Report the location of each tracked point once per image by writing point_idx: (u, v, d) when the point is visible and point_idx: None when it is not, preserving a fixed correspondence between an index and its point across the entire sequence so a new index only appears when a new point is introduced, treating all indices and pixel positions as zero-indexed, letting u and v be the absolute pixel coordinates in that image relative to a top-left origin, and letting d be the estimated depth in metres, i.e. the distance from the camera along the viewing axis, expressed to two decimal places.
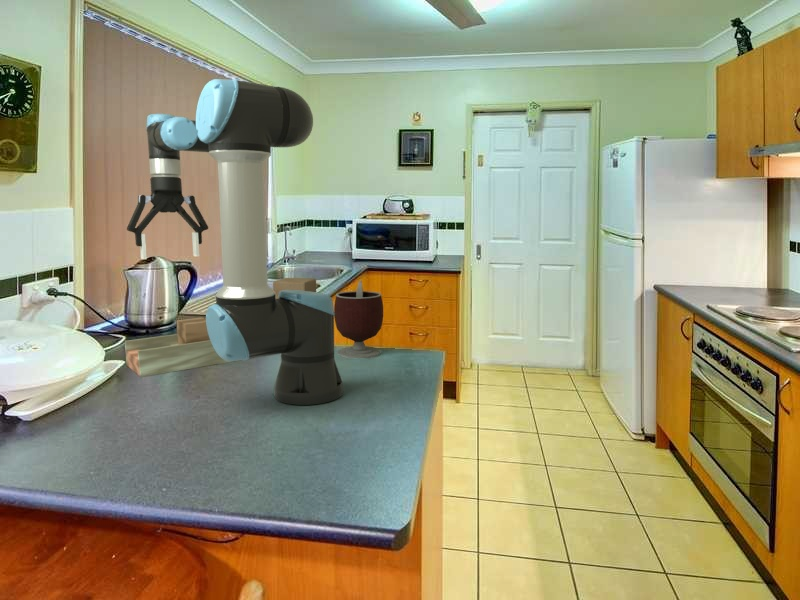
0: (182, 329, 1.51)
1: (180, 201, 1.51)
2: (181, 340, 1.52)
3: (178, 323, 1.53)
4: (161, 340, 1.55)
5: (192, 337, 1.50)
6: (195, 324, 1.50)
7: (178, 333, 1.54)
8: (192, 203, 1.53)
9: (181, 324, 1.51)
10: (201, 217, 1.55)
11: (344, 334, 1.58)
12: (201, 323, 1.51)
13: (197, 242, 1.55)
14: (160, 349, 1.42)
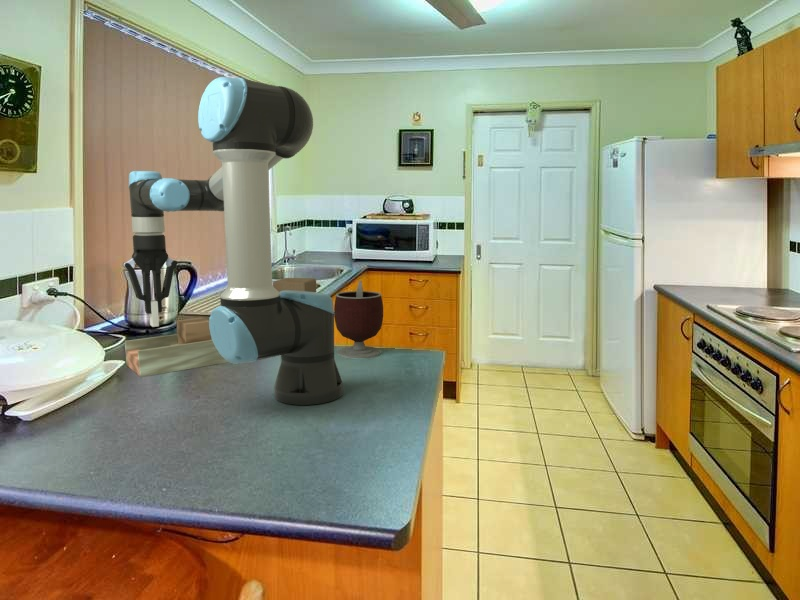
0: (182, 329, 1.51)
1: (162, 258, 1.45)
2: (181, 340, 1.52)
3: (178, 323, 1.53)
4: (161, 340, 1.55)
5: (192, 337, 1.50)
6: (195, 324, 1.50)
7: (178, 333, 1.54)
8: (171, 267, 1.47)
9: (181, 324, 1.51)
10: (169, 284, 1.47)
11: (344, 334, 1.58)
12: (201, 323, 1.51)
13: (156, 311, 1.46)
14: (160, 349, 1.42)
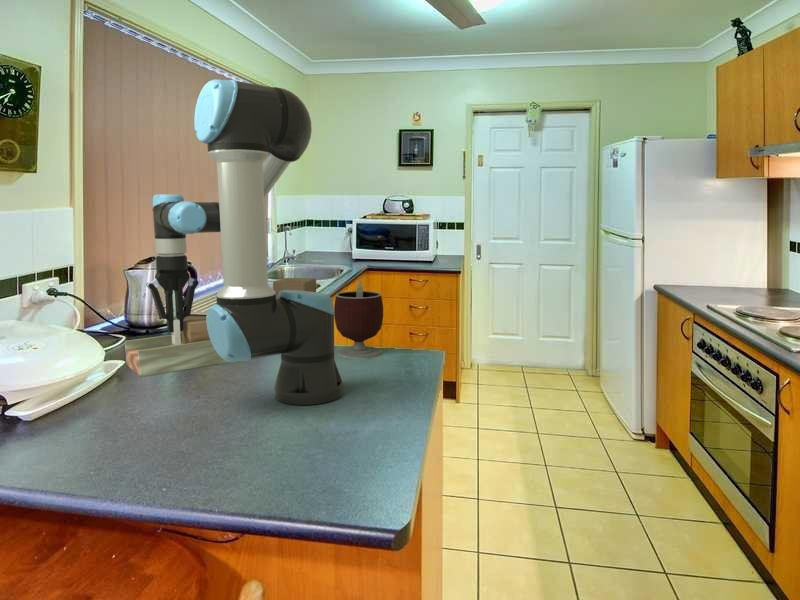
0: (187, 328, 1.51)
1: (184, 278, 1.49)
2: (186, 339, 1.53)
3: None
4: (161, 340, 1.55)
5: (196, 336, 1.51)
6: (200, 323, 1.51)
7: (182, 332, 1.54)
8: (192, 286, 1.51)
9: (186, 323, 1.52)
10: (190, 303, 1.51)
11: (344, 334, 1.58)
12: (205, 322, 1.52)
13: (178, 330, 1.50)
14: (160, 349, 1.42)
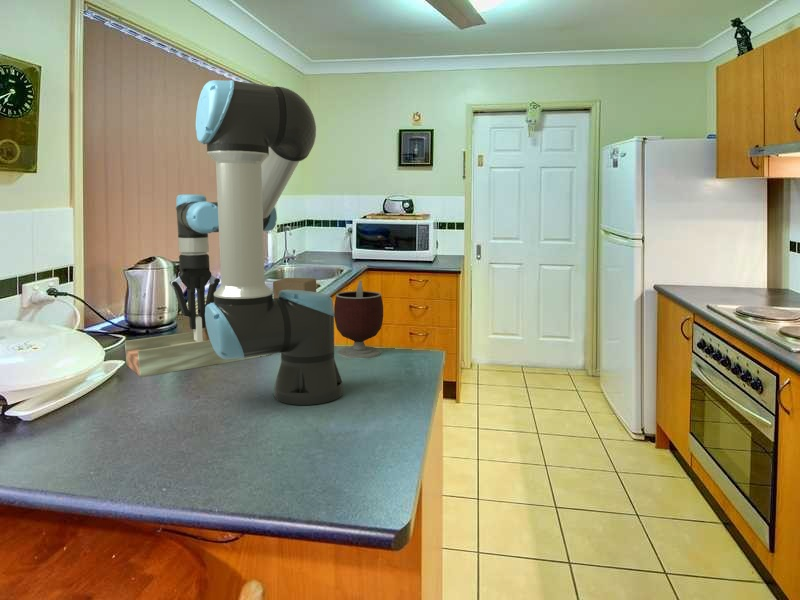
0: None
1: (206, 276, 1.53)
2: (207, 336, 1.57)
3: None
4: (161, 340, 1.55)
5: None
6: None
7: (204, 330, 1.58)
8: (214, 284, 1.54)
9: None
10: (212, 300, 1.55)
11: (344, 334, 1.58)
12: None
13: (200, 327, 1.53)
14: (160, 349, 1.42)
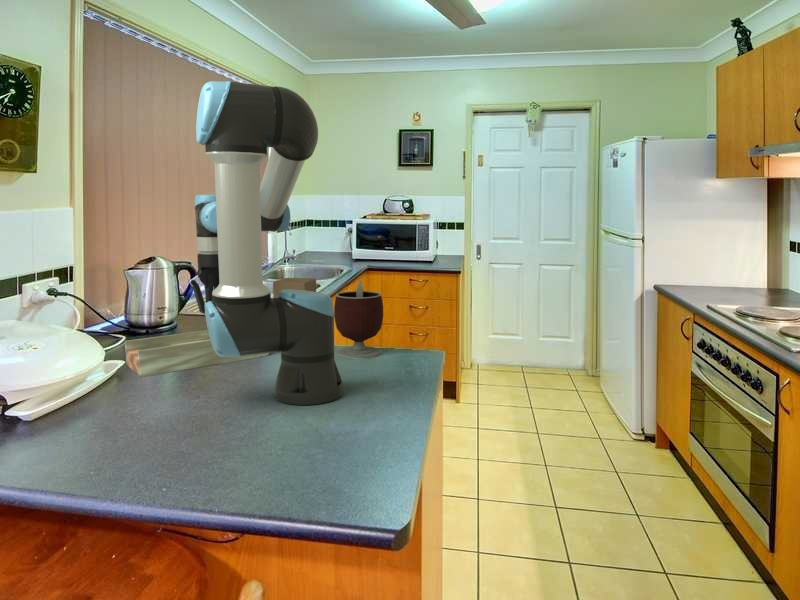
0: None
1: None
2: None
3: None
4: (161, 340, 1.55)
5: None
6: None
7: None
8: None
9: None
10: None
11: (344, 334, 1.58)
12: None
13: None
14: (160, 349, 1.42)
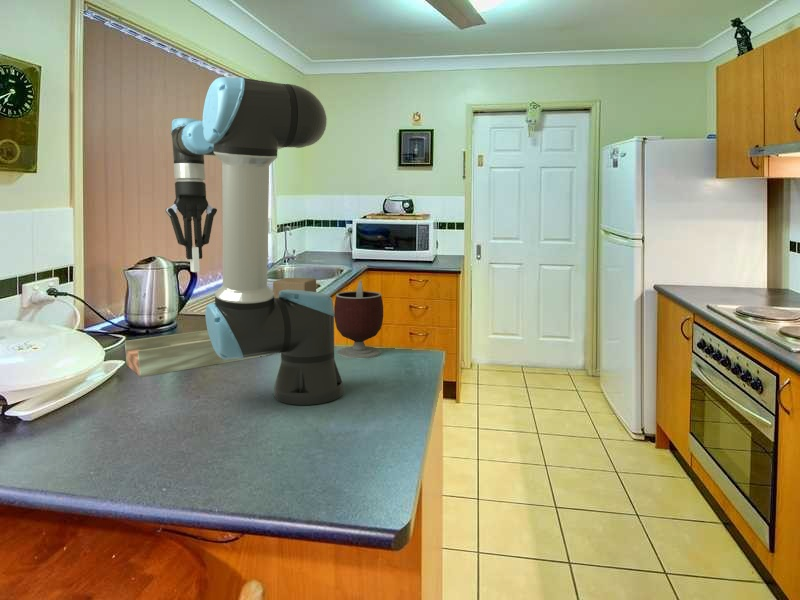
0: None
1: (203, 205, 1.50)
2: None
3: None
4: (161, 340, 1.55)
5: None
6: None
7: None
8: (211, 214, 1.51)
9: None
10: (209, 230, 1.52)
11: (344, 334, 1.58)
12: None
13: (197, 257, 1.50)
14: (160, 349, 1.42)
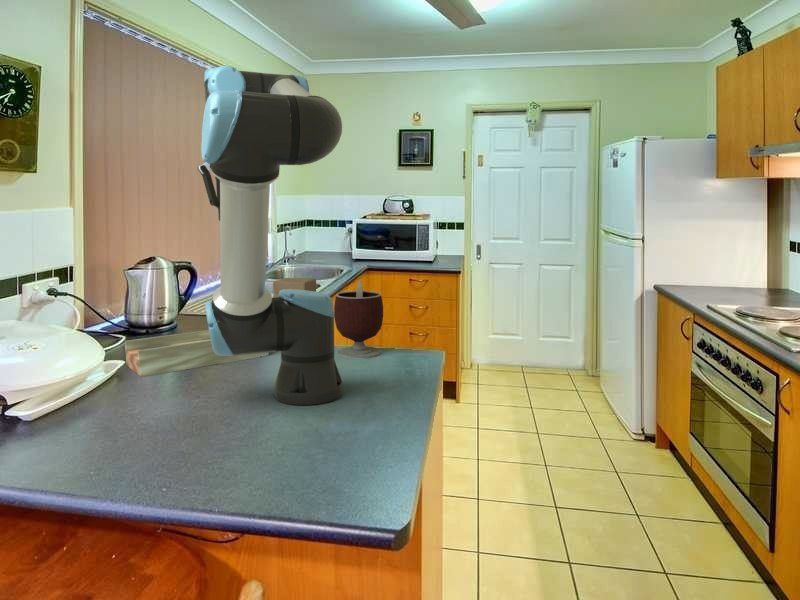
0: None
1: None
2: None
3: None
4: (161, 340, 1.55)
5: None
6: None
7: None
8: None
9: None
10: None
11: (344, 334, 1.58)
12: None
13: None
14: (160, 349, 1.42)
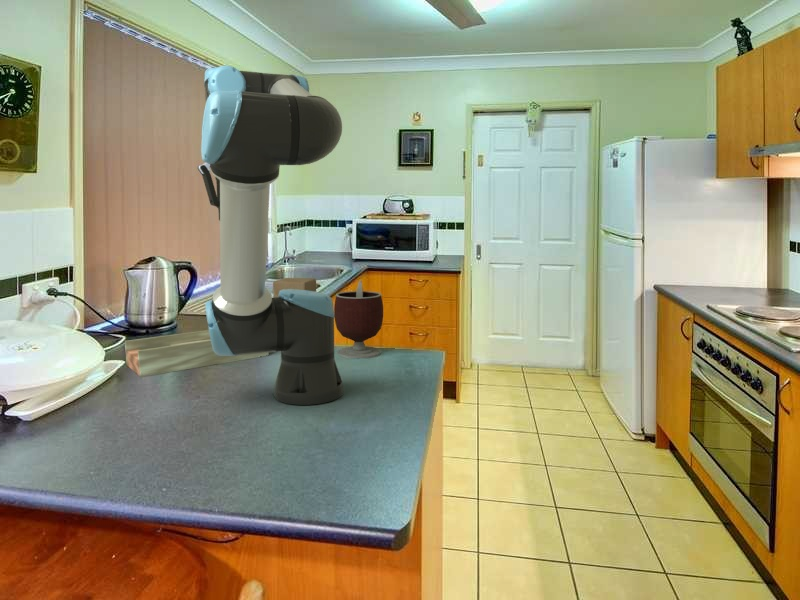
0: None
1: None
2: None
3: None
4: (161, 340, 1.55)
5: None
6: None
7: None
8: None
9: None
10: None
11: (344, 334, 1.58)
12: None
13: None
14: (160, 349, 1.42)
